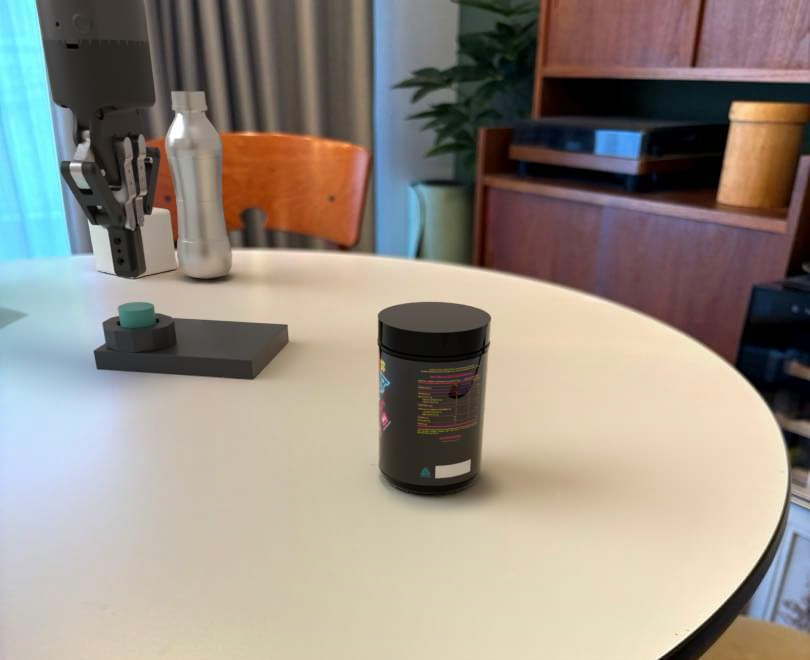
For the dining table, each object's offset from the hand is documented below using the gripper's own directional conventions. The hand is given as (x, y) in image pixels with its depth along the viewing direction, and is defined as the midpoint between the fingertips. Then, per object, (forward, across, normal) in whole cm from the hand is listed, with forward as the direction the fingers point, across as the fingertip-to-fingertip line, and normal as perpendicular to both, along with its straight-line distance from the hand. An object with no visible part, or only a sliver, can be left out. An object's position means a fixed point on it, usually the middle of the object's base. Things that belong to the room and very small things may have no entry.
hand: (130, 275), depth 70 cm
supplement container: (+7, +19, +28) cm, 35 cm away
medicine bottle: (+8, -33, -16) cm, 38 cm away
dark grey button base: (+7, -2, +4) cm, 9 cm away
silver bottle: (+8, -31, -6) cm, 33 cm away
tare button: (+4, 0, 0) cm, 4 cm away
